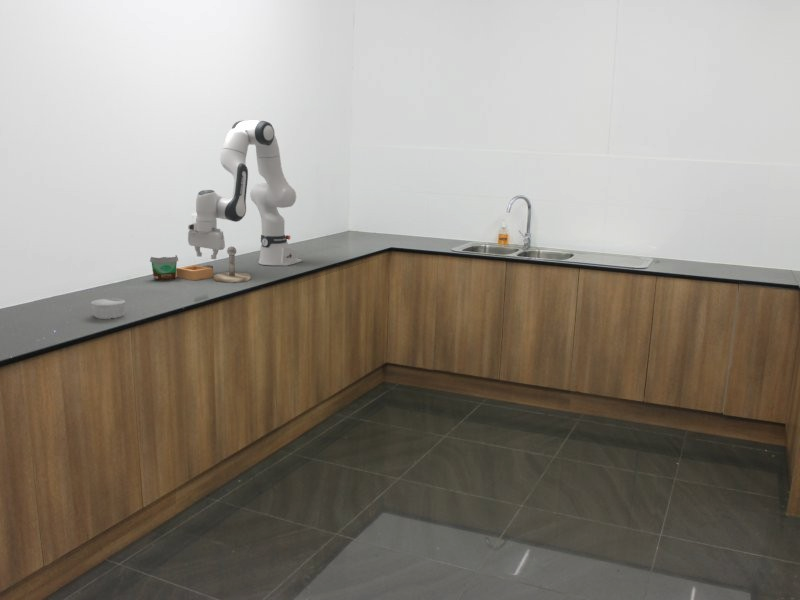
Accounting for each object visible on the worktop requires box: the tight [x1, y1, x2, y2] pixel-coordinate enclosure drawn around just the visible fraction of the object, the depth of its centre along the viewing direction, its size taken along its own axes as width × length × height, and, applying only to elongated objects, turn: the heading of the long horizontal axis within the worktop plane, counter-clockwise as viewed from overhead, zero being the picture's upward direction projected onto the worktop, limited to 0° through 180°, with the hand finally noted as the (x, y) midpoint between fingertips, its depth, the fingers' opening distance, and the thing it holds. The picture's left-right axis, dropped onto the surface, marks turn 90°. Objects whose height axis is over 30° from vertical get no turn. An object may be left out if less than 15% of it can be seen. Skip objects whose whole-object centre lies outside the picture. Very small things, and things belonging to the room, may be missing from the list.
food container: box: [149, 254, 179, 282], centre depth 337 cm, size 12×6×10 cm, turn 129°
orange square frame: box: [176, 264, 214, 281], centre depth 347 cm, size 15×11×4 cm
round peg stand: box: [213, 245, 252, 284], centre depth 342 cm, size 16×16×14 cm
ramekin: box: [90, 298, 126, 320], centre depth 271 cm, size 11×11×5 cm
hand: (206, 257), depth 350 cm, fingers open, 8 cm apart
